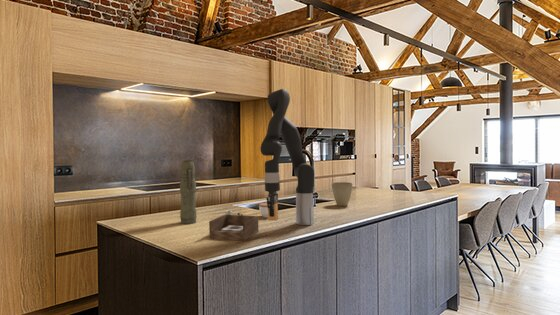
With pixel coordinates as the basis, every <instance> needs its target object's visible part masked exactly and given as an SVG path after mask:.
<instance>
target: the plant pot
mask: <svg viewBox="0 0 560 315" xmlns="http://www.w3.org/2000/svg"><path fill="white" fill-rule="evenodd" d="M353 185H354V183H353V182H347V181H344V182H343V181H339V182H337V181H336V182H331V189H332V194H333V198H334V201H335V204H336V206H338V207H346V206H348V205H349V202H350V198H351V196H352V190H353Z"/></svg>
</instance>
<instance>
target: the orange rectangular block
mask: <svg viewBox="0 0 560 315" xmlns="http://www.w3.org/2000/svg"><path fill="white" fill-rule="evenodd" d="M278 203H279V202H278ZM278 203H275V204H274V216H273V217H270V214H269V208H268V218H267V221H273V222H274V221H278V219H279V212H278V211H279V208H278V207H279V206H278V205H279V204H278ZM270 206H271V204H270Z"/></svg>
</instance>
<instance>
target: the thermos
mask: <svg viewBox="0 0 560 315" xmlns="http://www.w3.org/2000/svg"><path fill="white" fill-rule="evenodd" d="M195 169H196V168H195V163H194V161H193V160H183V161H181V165H180V175H181V176H180V180H179V192H180V212H179V214H180V216H179V217H180V224H181V225H192V224H196V223H197V218H198V217H197V209H196V193H197V192H196V191H197V182H196V178H195V174H196V172H195Z"/></svg>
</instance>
